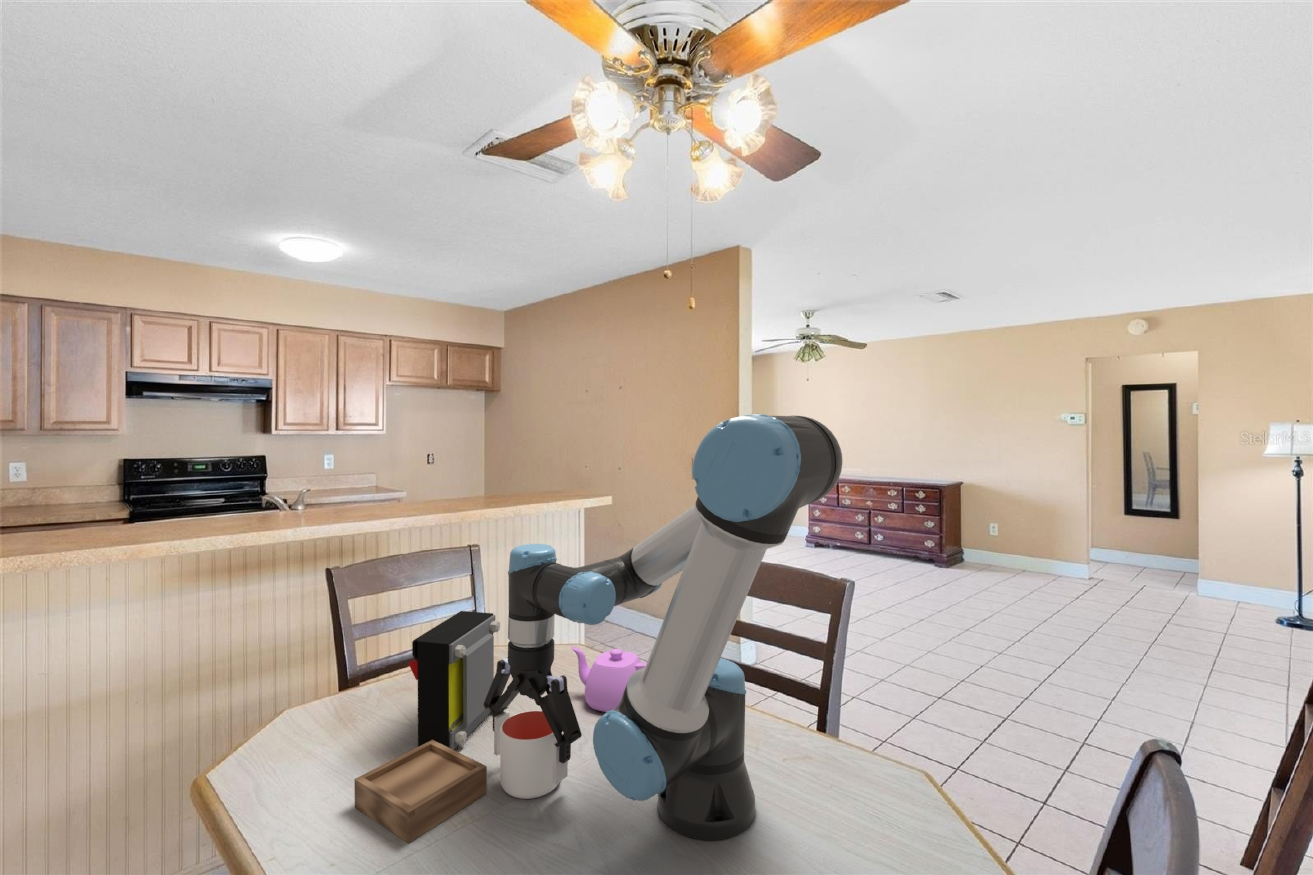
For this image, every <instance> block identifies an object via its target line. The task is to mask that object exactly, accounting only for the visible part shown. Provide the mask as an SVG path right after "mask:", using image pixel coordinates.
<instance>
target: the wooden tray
mask: <svg viewBox="0 0 1313 875" xmlns="http://www.w3.org/2000/svg"><path fill="white" fill-rule="evenodd" d="M487 776H488V775H487V765H485V764H483V763H482V762H479V761H477V760H475V759H472V758H471V757H469V756H467V755H465V754H463V753H461V752H458V751H457V750H456V749H454V750H453V749H450V748H448V747H446V746H444V745H442V744H440V743H438V742H436V741H434V740H431V741H429V742H427V743H425V744H423V745H421V746H419V747H418V746H417V747H416V748H414V749H411V750H409V751H407V752H405V753H404V754H402V755H399V756H398V757H395V758H394V759H391V760H389V761H388V762H385V763H383V764H382V765H380V766H377V767H376V768H374V769H372V770H370V771H367V772H366V773H363V774H362V775H360V776H358V777H356V778H354V808H355V809H357V810H358V811H360V812H361V813H362V814H364V815H366V816H367V817H368V818H370V819H372V820H373V821H375V822H376V823H378V824H379V825H380V826H382V827H384V828H385V829H386V830H388V831H389V832H391V833H393V834H394V835H396V836H397V837H399V838H400V839H402V840H403V841H404V842H406V843H408V844H410V843H412V842H413V841H415V840H416V839H418V838H419V837H421V836H423V835H424V834H425V833H427V832H429V831H430V830H432V829H434V828H435V827H436V826H438V825H440V824H441V823H443V822H444V821H446V820H447V819H449V818H451V817H452V816H454V815H456V814H457V813H459V812H460V811H461V810H463V809H464V808H466V807H467V806H469V805H471V804H472V803H474V802H476V801H477V800H479V799H481V798H482V797H483V796H485V795H487V793H488V792H487V791H488V790H487V786H488V785H487V782H488V781H487V780H488V779H487Z"/></svg>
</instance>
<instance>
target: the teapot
mask: <svg viewBox="0 0 1313 875" xmlns="http://www.w3.org/2000/svg"><path fill="white" fill-rule="evenodd" d="M570 649H571V650H572V651H573V652H574V653H575V654H576V657H577V661H578V662H577V663H578V676H579V679H580V681H581V683H582V684H583V685H584V699H585V701H586V703H587V705H588V706H589V707H590V708H591V709H592V710H595V711H597V712H598V711H599V712H604V713H606V712H607V711H609V710H614V709H615V708H616V707H617V706H618V705H619V703H620V701H621V698H622V696H623V693H624V690H625V688H626V685H627V683H628V680H629V678H630V677H631V675H632V674H633V673H634V672H635V671H637V670H639V669H641V668H644V667H646V664H647V662H641V659H639V656H638V655H637V654H636V653H635V652H630V651H625V650H622V649H620V648H613V649H611V650H608V651H605V652H602V653H600V654H599V655H598V656H597V657H596V658H595V660H594V662H593V664H592V665H591V668H590V667H589V666H588V663H587V659H586V655H585V653H584V651H583V650H582V649H581V648H578V647H576V646H571V648H570Z"/></svg>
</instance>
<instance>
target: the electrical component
mask: <svg viewBox="0 0 1313 875" xmlns="http://www.w3.org/2000/svg"><path fill="white" fill-rule="evenodd" d="M500 629H501V622H500V621H498V620H496V614H494V612H493V613H492V612H479V611H478V612H477V611H467V610H460V611H458V612H457V613H456V614H453V615H452V616H451V617H449V618H447V619H446V620H444V621H442V622H440V623H439V624H437V625H436V626H435V627H432V628H431V629H430V630H428V631H426V632H424V633H423V634H421V635H420V636H418V637H416V638H414V639H413V640H412V641H411V645H412V646H411V651H412V652H411V655H412V657H413V658H414V660H409V661H408V666H409V668H410V671H411V672H412V674H413V676H414V679H415V680H416V681H417V747H419V746H421V745H423V744H425V743H427V742H429V741H431V740H434V741H436V742H438V743H440V744H442V745H444V746H446V747H448V748H450V749H453V750H456V749H457V748H458V747H459V746H463V745H465V743H466V741H467V738H468V737H469V736H470V734H471V733H473V731H474V730H475V729H476V728H478V726H479V725H480V724H481V723H482V722H483V721H484V720H485V719H486V718H487V717H488V716H489V715H490V714H491V710H490V709H489V708H487V709H486V708H485V707H484V701H485V699H486V696H487V694H488V691H489V689H490V687H491V684H492V682H493V679H494V677H495V674H494V670H495V669H494V668H495V666H494V665H495V663H494V660H495V659H494V658H495V657H494V655H495V654H494V653H495V652H494V649H495V647H494V645H495V644H494V643H495V641H494V640H495V639H494V637H495V636H494V633H498V632H499V631H500Z"/></svg>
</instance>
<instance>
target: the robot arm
mask: <svg viewBox="0 0 1313 875" xmlns="http://www.w3.org/2000/svg"><path fill="white" fill-rule="evenodd" d="M833 433H834V432H832V431H831V430H830V429H829V428H828V427H827V426H826V425H824V424H823V423H822V422H820V421H818V420H816V419H814V418H811V417H807V416H803V415H768V414H766V413H765V414H764V413H748V414H744V415H740V416H736V417H732V418H728V419H725V420H723V421H721V422H720V423H718V424H717V425H715V426H714V427H713V428H711V429H710V430H709V431H708V432H707V433H706V434H705V436H704V437H703V438H702V440H701V441H700V443H699V445H698V446H697V450H696V452H695V454H694V457H693V463H692V479H693V480H694V481H695V486H694V489H695V494H696V495H697V498H696V501H695V503H694V505H692V506H690V508H688V509H687V510H685V511H684V512H682V513H681V514H679V515H677V517H675V518H673V519H672V520H671V521H669V522H668V523H666V524H665V525H663V526H662V527H661V528H659V529H657V530H656V531H655V532H654V533H652V534H650V535H648V537H646V538H645V539H643V540H642V541H640V542H639V543H637V544H636V545H635V546H633V547H632V548H630V549H628V551H626V552H625V553H623V554H622V555H620V556H617V557H614V558H610V559H606V560H602V561H599V562H595V563H589V564H587V565H583V566H578V567H572V566H569V565H568V566H567V565H563V564H561V563H558V562H557V560H558V559H557V553H556V549H555V548H554V547H553V546H552V545H550V544H549V545H548V544H545V543H528V544H527V543H526V544H522V545H518V546H515V547H514V548H513V549H511V550H510V554H509V562H508V571H507V575H508V576H507V577H508V617H507V618H508V619H507V620H508V621H507V623H508V624H507V639H508V640H509V642H508V643H507V657H505V658H502V659H501V660H498V661H497V662H496V671H495V674H494V679H493V682H492V684H491V687H490V689H489V691H488V694H487V696H486V699H485V701H484V707H485V708H486V709H487V708H489V709H490V710H491V713H490V714H491V716H492V732H494V733H493V734H494V736H493V737H494V738H493V743H494V744H493V755H495V756H500V728H501V725H502V723H503V722H504V721H505V720H506V719H508V718H509V717H511V716H510V715H511V714H510V711H508V710H507V709H509V706H510V705H511V703H512V702H513V701H514V699H515V698H516V697H517V696H518V695H521V696H526V697H527V698H529V699H530V700H533V701H534V703H535V704H536V705H537V706H539V708H540V709H541V711H543V713H544V715H545V717H546V719H547V722H548V724H549V726H550V728H551V730H552V732H553V734H554V736H555V738H556V740H557V741H555V742H553V774H552V783H554V784H557V783H558V784H560V783H561V781H563V780H564V779H566V778H567V777H568V772H569V771H568V767H569V766H568V764H569V761H570V760H571V757H572V756H571V754H572V752H571V751H572V750H571V748H572V746H571V745H572V743H574V742H576V741H577V740H579V739H580V738H581V737H582V731H581V728H580V725H579V722H578V718H577V715H576V712H575V709H574V706H573V703H572V700H571V697H570V694H569V690H568V678H567V676H566V675H564V674H563V675H560V676H554V675H553V673H552V670H551V668H552V665H553V664H554V663H553V662H554V661H555V639H554V637H555V618H556V617H555V615H557V616H559V617H561V618H564V619H567V620H569V621H571V622H573V623H578V624H583V625H589V626H596V625H599V624H601V623H603V622H604V621H605V619H606V618H607V617H608V616H610V615H611V613H612V611H613V609H614V607H617V606H619V605H622V604H624V603H627V602H631V601H634V600H637V599H642V598H645V597H648V596H649V595H651V594H652V593H655V592H657V591H659V589H660V588H661V587H662V585H663V583H665V582H666V581H668V580H669V579H671V578H673V577H674V576H677V575H678V574H679V573H681V574H680V577H679V579H678V583H677V585H676V586H675V590H674V592H673V595H672V597H671V600H670V603H669V605H668V607H667V611H666V612H665V616H664V618H663V621H662V623H661V626H660V629H659V631H658V633H657V635H656V636H657V637H656V639H655V641H654V643H653V647H652V648H651V651H650V653H649V657H648V660H647V662H646V663H647V664H646V667H644V668H641V669H639V670H637V671H635V672H634V673H633V674H632V675H631V677H630V678H629V680H628V683H627V685H626V688H625V690H624V693H623V696H622V698H621V701H620V703H619V705H618V706H617V707H616V708H615V709H614V710H609V711H607V712H604V713H603V715H602V716H601V717H600V718H598V720H596V723H595V726H594V728H593V733H592V743H593V744H592V745H593V750H594V755H595V757H596V759H597V762H598V765H599V768H600V770H601V772H602V774H603V775H604V777H605V778H606V780H607V782H608V783H609V784H610V785H611V786H612V787H613V788H614V789H615V791H617V792H618V793H619V794H620V795H621V796H623V797H625V798H626V799H629V800H632V801H639V802H643V801H644V802H645V801H648V800H650V799H651V798H653V797H654V796H656V795H657V811H658V814H659V816H660V818H661V820H662V821H663V822H664V823H665V824H666V825H667V826H668V827H669V828H670V829H672V830H673V831H674V832H677V833H678V834H681V835H682V836H686V837H689V838H692V839H696V840H704V841H719V840H725V839H730V838H733V837H736V836H737V835H740V834H741V833H743V832H744V831H746V830H747V829H748V828H749V827H750V826H751V824H752V823H753V821H754V819H755V816H756V815H755V814H756V797H755V796H756V795H755V792H754V789H753V786H752V781H751V778H750V775H749V772H748V769H747V766H746V763H745V736H746V735H745V733H746V732H745V727H746V726H745V725H746V722H745V721H746V694H747V690H746V680H745V674H744V673H745V672H744V671H743V669H742V668H741V667H740V666H739V665H738V664H736V663H735V662H733V661H731V660H728V659H727V658H726V659H725V658H723V657H722V655H723V653H724V650H725V648H726V646H727V643H728V641H729V640H730V639H729V638H730V636H731V634H732V632H733V629H734V627H735V624H736V622H737V619H738V618H739V615H740V613H741V610H742V608H743V606H744V604H745V602H746V598H747V596H748V595H749V592H750V589H751V587H752V584H754V583H753V582H754V580H755V577H756V575H757V573H758V570H759V568H760V566H761V564H762V561H763V559H764V557H765V555H766V552H767V550H768V549H772V548H774V547H777V546H780V545H783V543H784V542H785V540H786V539H787V536H788V534H789V531H790V529H791V527H792V525H793V523H794V520H795V518H796V515H797V513H798V511H799V509H801V508H803V507H805V506H807V505H810V504H814V503H816V502H818V501H820V500H821V499H823V498H824V497H826V496H828V495H829V493H831V491H832V490H834V488H835V487H836V485H837V483H838V481H839V479H840V476H841V473H842V469H843V453H842V449H841V446H840V444H839V441H838V439H837V438H836V436H835V435H834V434H833ZM510 676H511V678H512V680H511V682H510V683H509V684H508V686H507V683H508V682H509V680H510ZM506 686H507V687H506ZM505 688H506V690H505ZM504 690H505V691H504ZM544 694H546V695H545V696H543V695H544Z"/></svg>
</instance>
